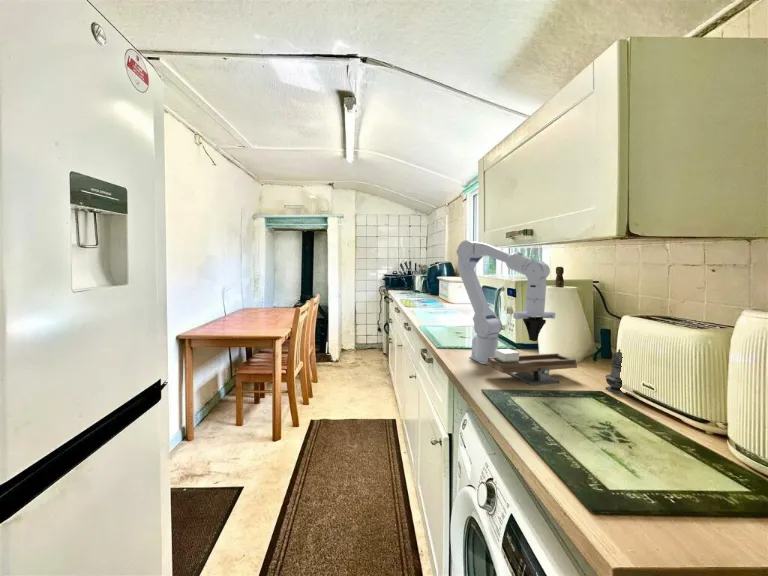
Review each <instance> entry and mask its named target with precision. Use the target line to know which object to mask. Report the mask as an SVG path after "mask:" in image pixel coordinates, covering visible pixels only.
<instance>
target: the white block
mask: <svg viewBox="0 0 768 576" xmlns="http://www.w3.org/2000/svg"><path fill="white" fill-rule="evenodd" d="M519 356H520V352H518V351H515V350H513V349H511V348H503V349H502V348H499V349H497V350H495V360H496V361H498V362H500V363H502V364H504V363H519Z"/></svg>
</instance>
